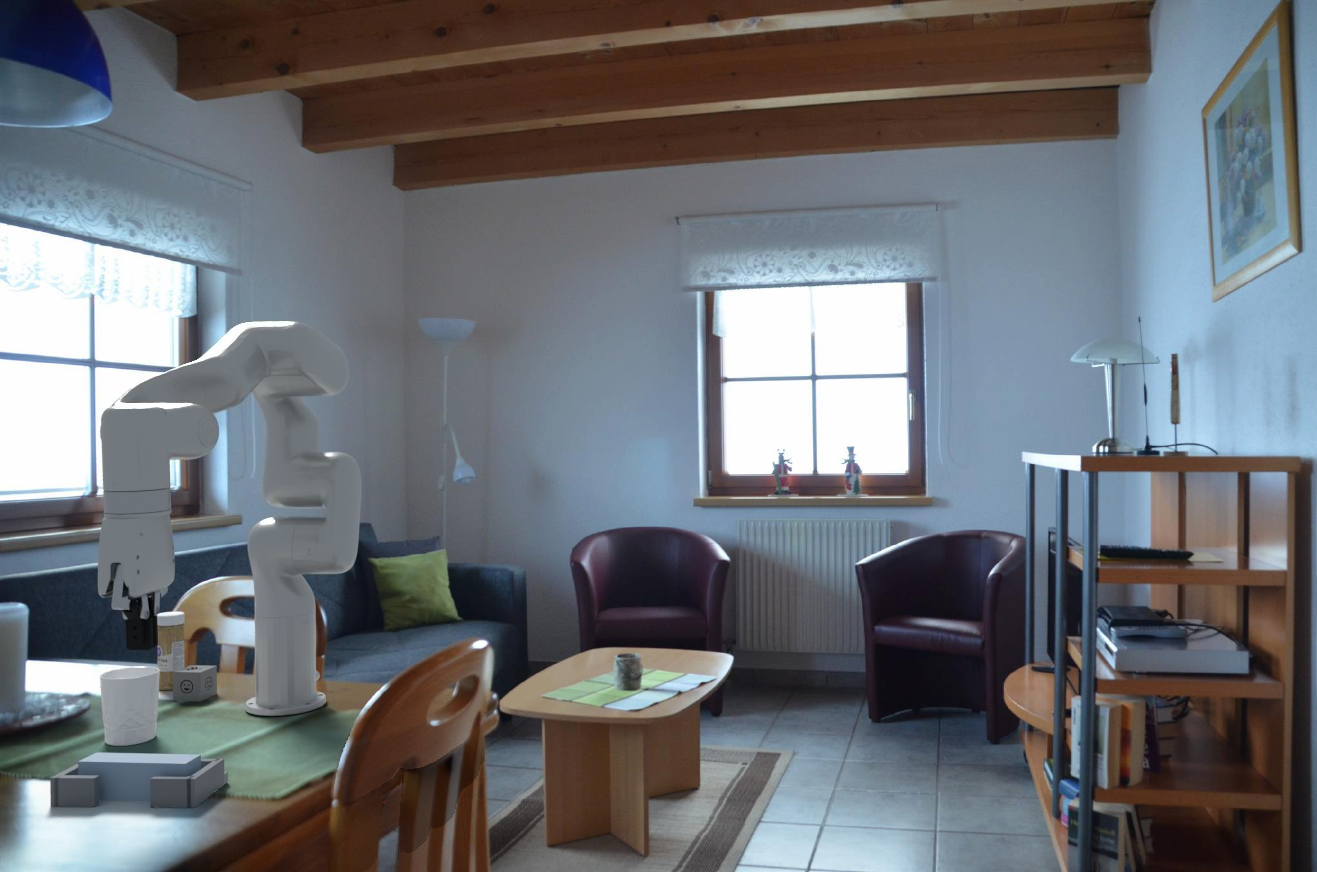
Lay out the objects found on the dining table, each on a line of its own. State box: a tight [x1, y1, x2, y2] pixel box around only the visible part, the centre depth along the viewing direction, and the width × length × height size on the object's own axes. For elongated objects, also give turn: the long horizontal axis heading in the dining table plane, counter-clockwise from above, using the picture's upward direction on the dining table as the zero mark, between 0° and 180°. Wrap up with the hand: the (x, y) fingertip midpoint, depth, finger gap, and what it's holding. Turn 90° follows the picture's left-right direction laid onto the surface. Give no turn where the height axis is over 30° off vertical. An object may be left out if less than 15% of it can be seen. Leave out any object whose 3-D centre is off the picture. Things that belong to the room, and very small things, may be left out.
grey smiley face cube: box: [172, 664, 218, 702], centre depth 173 cm, size 5×5×5 cm
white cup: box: [99, 666, 160, 747], centre depth 149 cm, size 8×8×10 cm
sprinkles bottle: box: [156, 611, 186, 691], centre depth 179 cm, size 5×5×14 cm
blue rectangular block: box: [77, 751, 202, 803], centre depth 125 cm, size 14×4×5 cm, turn 85°
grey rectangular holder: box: [49, 758, 229, 809], centre depth 126 cm, size 8×18×4 cm, turn 88°
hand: (142, 648), depth 126 cm, fingers closed
